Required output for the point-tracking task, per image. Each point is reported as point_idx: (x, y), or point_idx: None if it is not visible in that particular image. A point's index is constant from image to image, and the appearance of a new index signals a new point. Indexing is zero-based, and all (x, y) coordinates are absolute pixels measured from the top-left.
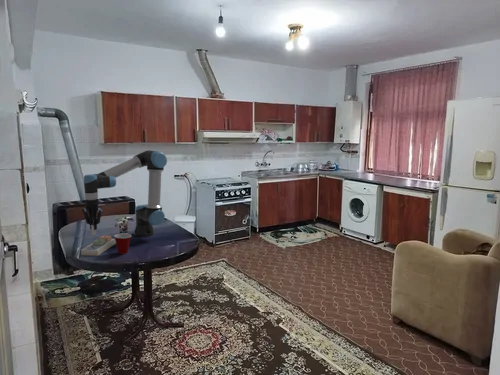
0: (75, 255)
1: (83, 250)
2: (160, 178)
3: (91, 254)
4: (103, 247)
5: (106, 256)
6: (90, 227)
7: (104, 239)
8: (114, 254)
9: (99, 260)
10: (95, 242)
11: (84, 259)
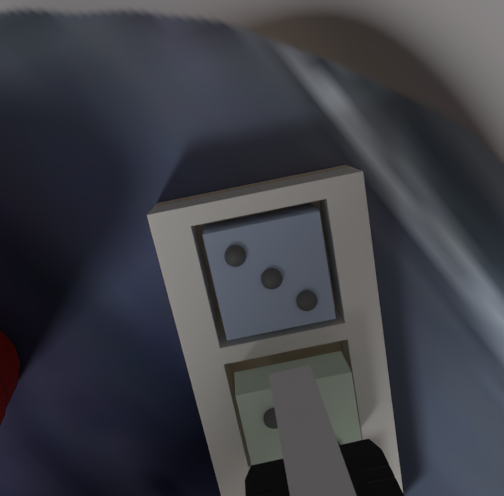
0: (396, 131)
1: (328, 176)
2: None
3: (227, 189)
4: (183, 344)
5: (53, 217)
6: (384, 477)
7: None
8: (20, 293)
9: (29, 86)
10: None
11: (213, 56)
